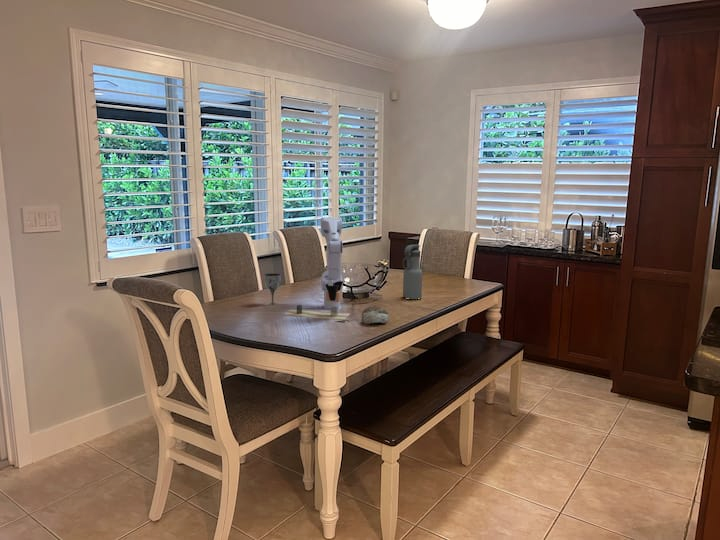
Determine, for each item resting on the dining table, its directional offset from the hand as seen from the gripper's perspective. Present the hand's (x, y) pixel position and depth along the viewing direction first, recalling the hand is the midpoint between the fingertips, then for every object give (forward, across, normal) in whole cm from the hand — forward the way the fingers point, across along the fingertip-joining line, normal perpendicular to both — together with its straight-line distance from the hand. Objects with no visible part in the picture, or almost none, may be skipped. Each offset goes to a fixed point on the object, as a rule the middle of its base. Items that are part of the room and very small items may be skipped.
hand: (334, 298), depth 237 cm
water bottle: (+9, -51, +29) cm, 59 cm away
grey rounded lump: (+9, +2, +19) cm, 21 cm away
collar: (+1, 0, 0) cm, 1 cm away
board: (+9, 0, -8) cm, 12 cm away
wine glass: (+9, -17, -35) cm, 40 cm away
